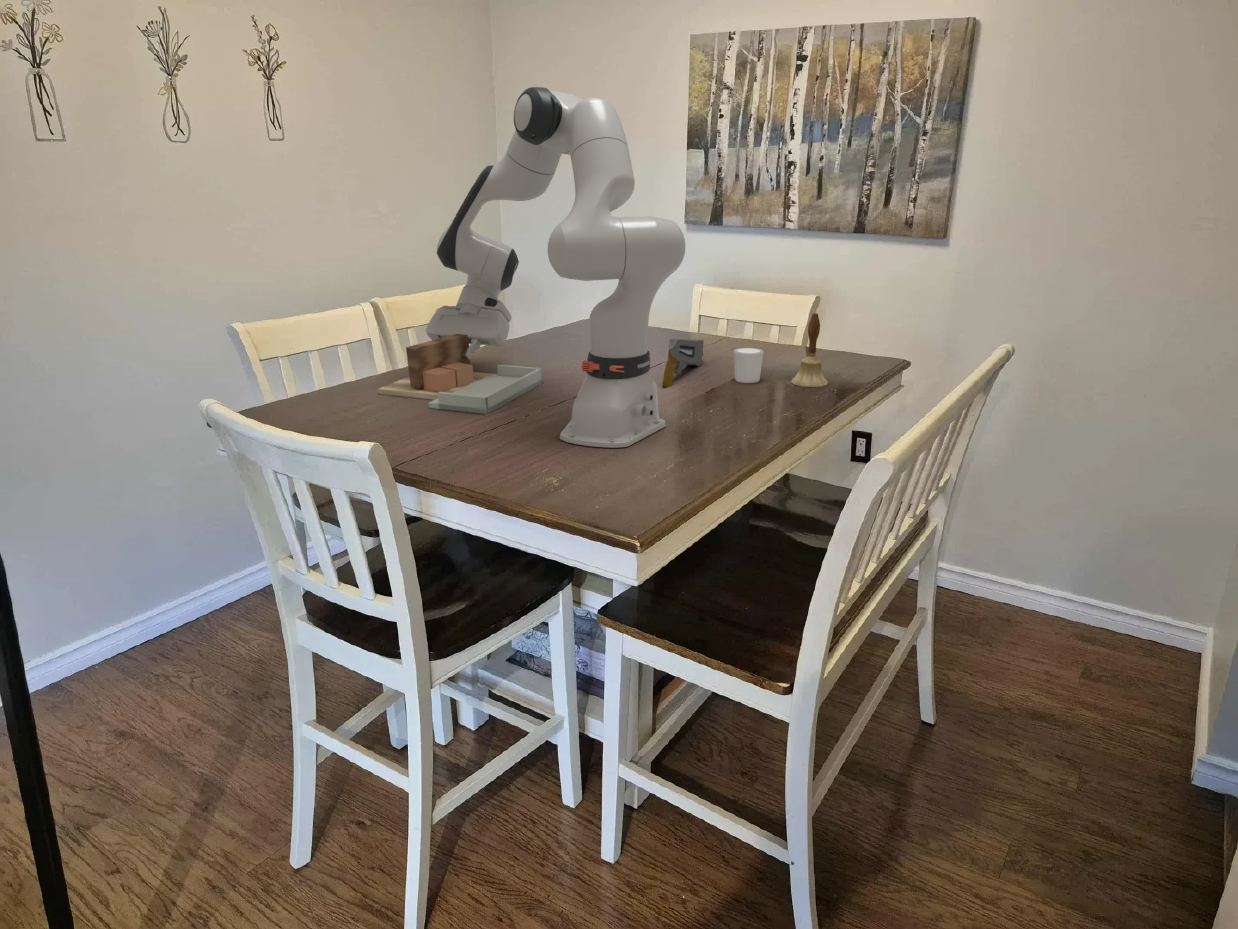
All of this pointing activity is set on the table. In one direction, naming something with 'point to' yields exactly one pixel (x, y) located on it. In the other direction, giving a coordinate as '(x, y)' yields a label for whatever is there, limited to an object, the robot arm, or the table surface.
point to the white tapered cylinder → (748, 364)
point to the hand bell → (811, 360)
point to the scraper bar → (435, 356)
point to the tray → (491, 390)
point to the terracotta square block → (461, 373)
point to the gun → (682, 357)
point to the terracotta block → (439, 379)
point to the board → (406, 390)
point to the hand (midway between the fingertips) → (456, 356)
